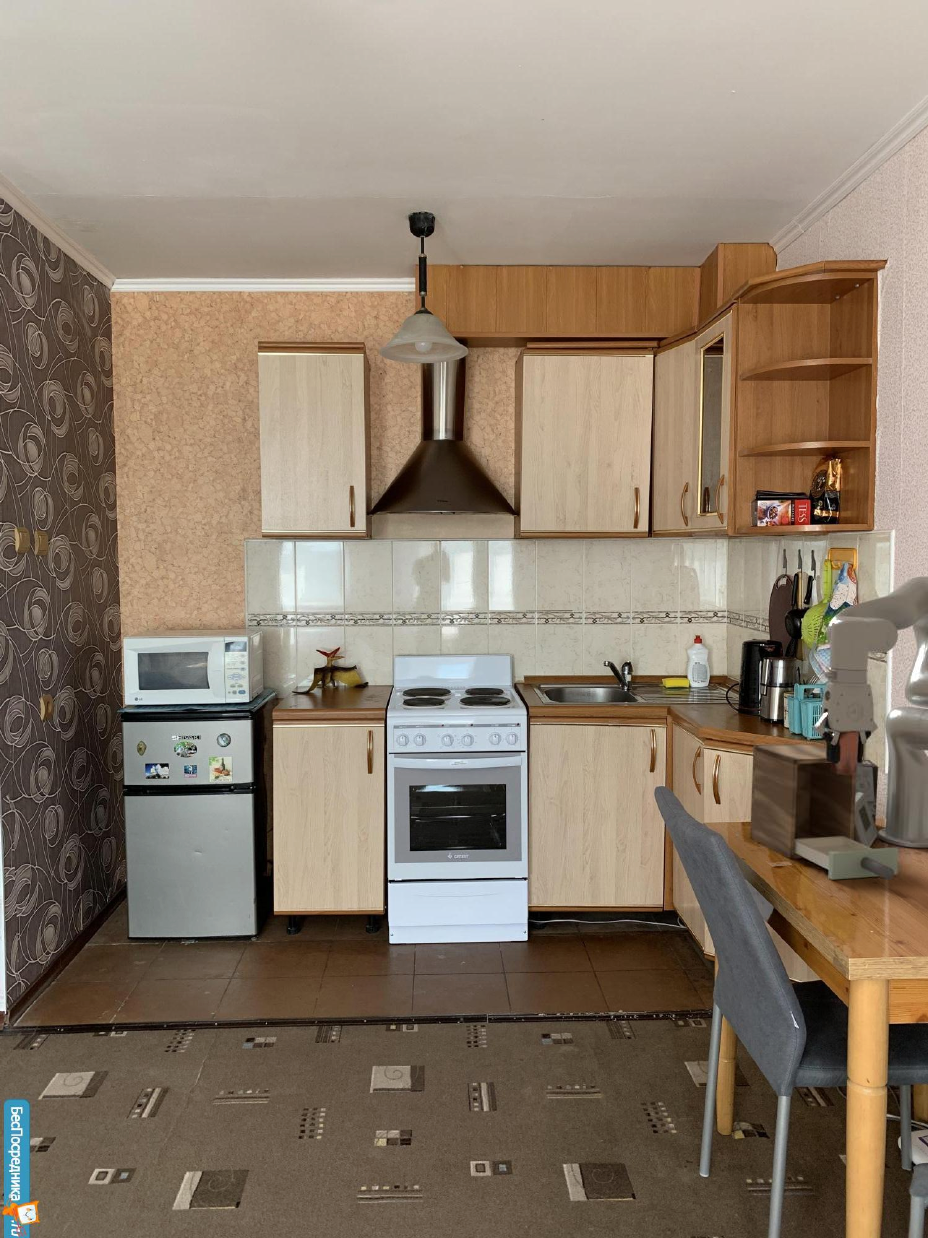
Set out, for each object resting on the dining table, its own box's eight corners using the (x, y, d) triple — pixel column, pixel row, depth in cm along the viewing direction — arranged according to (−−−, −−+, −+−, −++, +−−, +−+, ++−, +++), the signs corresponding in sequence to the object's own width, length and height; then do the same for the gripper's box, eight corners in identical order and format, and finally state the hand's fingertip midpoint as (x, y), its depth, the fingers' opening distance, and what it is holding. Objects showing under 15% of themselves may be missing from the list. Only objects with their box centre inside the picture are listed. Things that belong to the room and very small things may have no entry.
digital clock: (865, 854, 206) (867, 807, 205) (825, 846, 212) (827, 800, 211) (890, 840, 218) (892, 796, 217) (851, 832, 224) (853, 789, 223)
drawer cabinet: (809, 834, 222) (813, 743, 220) (853, 854, 206) (857, 757, 205) (750, 838, 218) (753, 745, 217) (789, 858, 202) (793, 759, 201)
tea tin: (863, 774, 195) (865, 727, 194) (840, 775, 194) (842, 727, 193) (846, 769, 200) (848, 723, 200) (824, 770, 199) (826, 723, 198)
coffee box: (876, 832, 224) (879, 766, 224) (848, 830, 226) (850, 765, 225) (867, 822, 233) (870, 759, 233) (840, 820, 235) (843, 757, 234)
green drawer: (847, 851, 208) (848, 827, 207) (921, 886, 185) (922, 859, 185) (786, 855, 204) (787, 831, 204) (854, 891, 182) (855, 864, 181)
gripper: (823, 679, 190) (820, 767, 191) (894, 679, 194) (890, 764, 195) (802, 675, 197) (798, 759, 198) (870, 675, 201) (867, 757, 202)
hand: (844, 761), depth 197 cm, fingers closed on tea tin, 5 cm apart
